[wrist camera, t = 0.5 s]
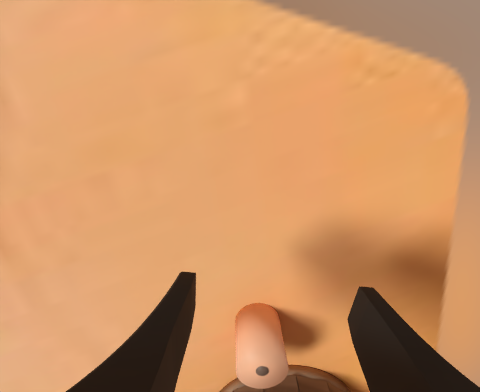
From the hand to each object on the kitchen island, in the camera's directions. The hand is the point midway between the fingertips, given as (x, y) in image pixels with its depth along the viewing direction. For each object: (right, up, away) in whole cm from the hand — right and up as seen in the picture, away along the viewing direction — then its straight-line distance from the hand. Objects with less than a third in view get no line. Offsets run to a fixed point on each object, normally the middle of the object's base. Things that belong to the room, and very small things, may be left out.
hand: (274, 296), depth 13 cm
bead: (0, -7, +14) cm, 16 cm away
